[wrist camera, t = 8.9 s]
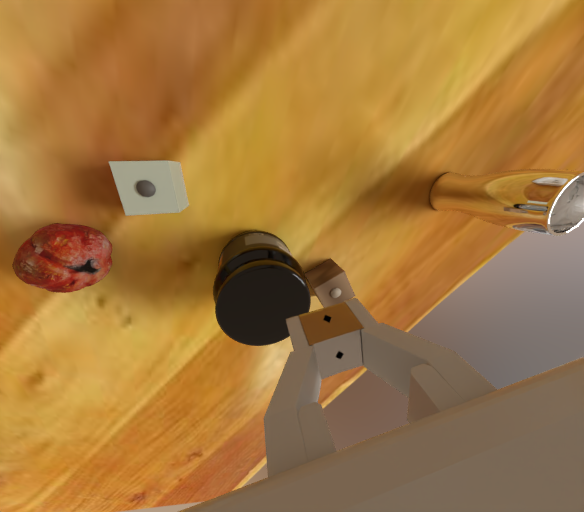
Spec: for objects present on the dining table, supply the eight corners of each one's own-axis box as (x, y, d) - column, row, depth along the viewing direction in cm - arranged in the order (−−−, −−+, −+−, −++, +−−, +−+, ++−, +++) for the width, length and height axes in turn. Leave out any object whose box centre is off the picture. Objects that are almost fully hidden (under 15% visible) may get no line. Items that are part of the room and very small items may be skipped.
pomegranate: (74, 266, 28) (122, 302, 26) (-19, 270, 21) (33, 320, 19) (90, 214, 27) (141, 246, 25) (-2, 200, 20) (55, 243, 18)
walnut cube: (330, 258, 35) (345, 271, 30) (340, 280, 37) (355, 296, 32) (304, 273, 35) (314, 289, 30) (315, 295, 37) (327, 313, 32)
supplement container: (218, 293, 32) (209, 355, 21) (219, 225, 29) (208, 258, 18) (285, 292, 35) (307, 347, 24) (294, 230, 31) (324, 262, 21)
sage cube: (180, 162, 25) (167, 160, 20) (189, 205, 27) (178, 212, 22) (132, 163, 24) (107, 161, 19) (145, 207, 26) (125, 215, 21)
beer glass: (469, 182, 36) (611, 190, 22) (443, 219, 37) (561, 247, 24) (445, 160, 33) (590, 154, 20) (419, 201, 35) (535, 220, 21)
